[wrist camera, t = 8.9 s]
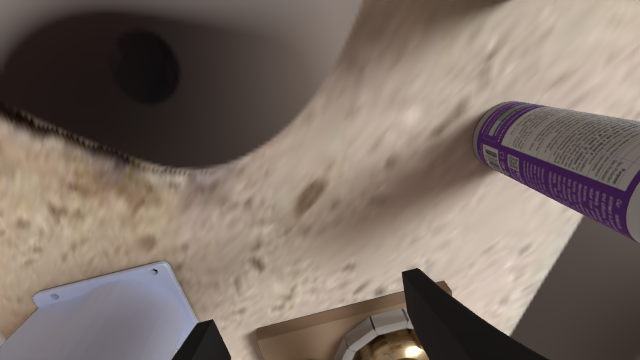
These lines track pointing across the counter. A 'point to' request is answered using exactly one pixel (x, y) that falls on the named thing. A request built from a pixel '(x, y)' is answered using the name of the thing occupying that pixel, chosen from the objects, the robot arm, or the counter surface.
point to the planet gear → (394, 347)
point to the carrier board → (336, 330)
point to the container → (568, 159)
